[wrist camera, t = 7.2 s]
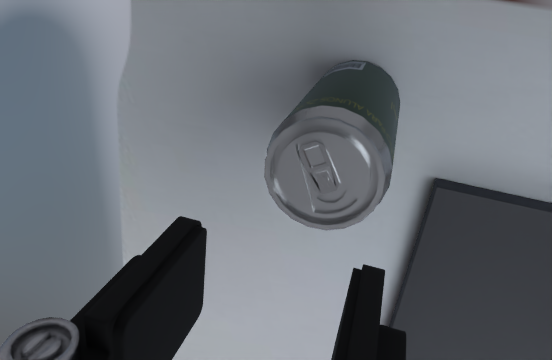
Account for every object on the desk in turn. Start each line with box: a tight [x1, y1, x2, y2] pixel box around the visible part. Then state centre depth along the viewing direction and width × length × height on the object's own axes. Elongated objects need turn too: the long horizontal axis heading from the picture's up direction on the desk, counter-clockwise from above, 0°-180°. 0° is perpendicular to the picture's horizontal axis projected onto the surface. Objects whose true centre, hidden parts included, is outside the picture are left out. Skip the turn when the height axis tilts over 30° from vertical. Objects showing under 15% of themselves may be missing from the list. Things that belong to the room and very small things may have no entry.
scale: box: [389, 178, 552, 360], centre depth 30 cm, size 16×15×3 cm
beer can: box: [264, 60, 400, 230], centre depth 23 cm, size 5×5×12 cm
